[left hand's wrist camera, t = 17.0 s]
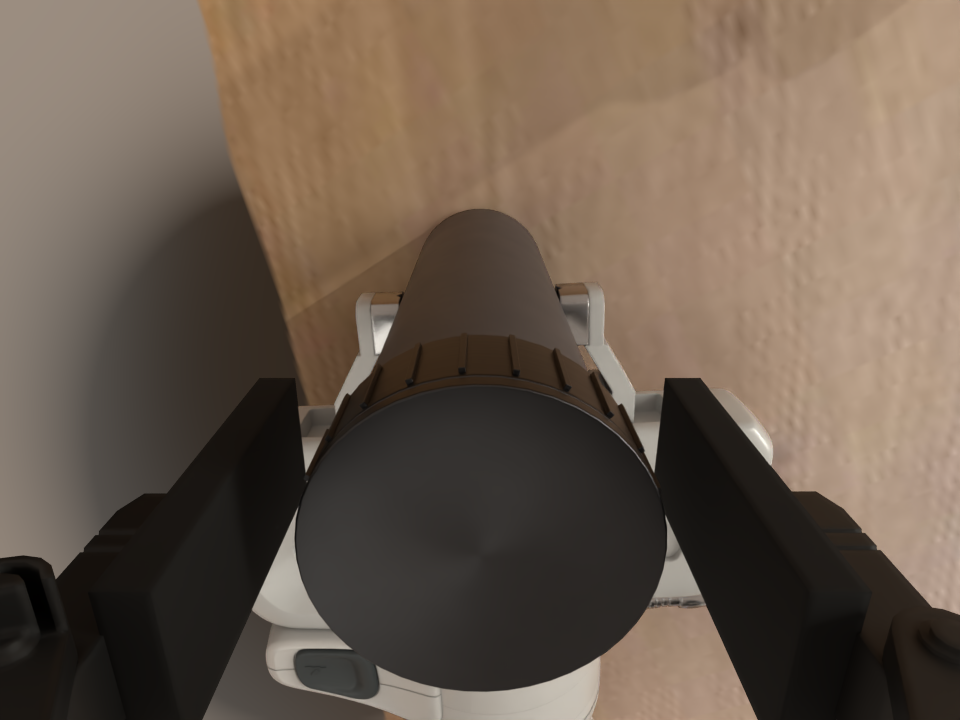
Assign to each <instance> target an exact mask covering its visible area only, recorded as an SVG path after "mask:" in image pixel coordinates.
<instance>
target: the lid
mask: <svg viewBox="0 0 960 720" xmlns="http://www.w3.org/2000/svg"><path fill="white" fill-rule="evenodd" d="M644 452H645V449H644V447H643V445H642V443H641V441H640V439H639V436H638V434H637V432H636V430H635V428H634V426H633V424H632V422H631V420H630V418H629V416H628V413H627V411H626V409H625V407H624V406H623V404H622V403H621V404H620V405H618V404H617V403H616V401H615V400H614V399H613V397H612V396H611V394H610V393H609V392H608V391H607V389H606V388H605V387H604V386H603V385H602V384H601V382H600V380H599V377H598V375H597V374H596V373H595V372H592V373H591V374H590V373H589V372H588V371H586V370H585V369H584V368H583V367H581V366H580V365H579V364H577V363H576V362H574V361H572V360H571V359H569V358H567V357H566V356H564V355H562V354H561V352H560V350H559V349H557V348H554V350H551V349H549V348H547V347H544V346H542V345H539V344H536V343H532V342H529V341H525V340H522V339H517V338H515V335H511V334H509V337H504V336H498V335H467V333H461V336H456V337H450V338H445V339H441V340H436V341H432V342H429V343H426V344H423V345H421V343H420V342H419V343H417V344H415V345H414V348H412V349H410V350H408V351H406V352H404V353H402V354H400V355H398V356H396V357H394V358H392V359H391V360H389V361H388V362H386V363H385V364H383V365H382V366H381V365H380V364H379V363H378V364H377V365H376V366H375V367H374V369H373V372H372V373H371V374H370V375H369V376H368V377H367V378H366V379H365V380H364V381H363V382H362V383H360V384H359V386H358V387H357V388H356V389H355V390H354V392H353V393H352V394H351V395H349V394H348V393H347V394H346V395H345V396H344V398H343V400H342V402H341V405H340V407H339V409H338V411H337V413H336V415H335V418H334V420H333V422H332V424H331V426H330V428H329V429H326V431H325V433H324V435H323V438H322V440H321V442H320V444H319V446H318V448H317V450H316V452H315V455H314V457H313V459H312V461H311V463H310V465H309V467H308V469H307V471H306V474H305V476H304V480H306V481H307V483H306V486H305V488H304V491H303V493H302V496H301V498H300V502H299V506H298V511H297V515H296V522H295V535H294V541H295V552H296V560H297V564H298V568H299V572H300V576H301V580H302V582H303V585H304V587H305V590H306V592H307V594H308V597H309V599H310V600H311V602H312V604H313V605H314V607H315V609H316V610H317V612H318V614H319V615H320V617H321V618H322V619H323V620H324V622H325V623H326V624H327V625H328V627H329V628H330V629H331V630H332V631H333V632H334V633H335V634H336V635H337V636H338V637H339V638H340V639H341V640H342V641H343V642H344V643H345V644H346V645H347V646H349V647H350V648H351V649H353V650H354V651H355V652H356V653H358V654H359V655H360V656H362V657H363V658H365V659H366V660H368V661H370V662H371V663H373V664H375V665H377V666H378V667H380V668H382V669H384V670H386V671H388V672H390V673H393V674H395V675H397V676H399V677H402V678H405V679H408V680H411V681H414V682H417V683H420V684H423V685H428V686H432V687H437V688H441V689H448V690H457V691H466V692H493V691H507V690H513V689H519V688H525V687H530V686H534V685H538V684H541V683H545V682H548V681H552V680H554V679H557V678H559V677H562V676H564V675H567V674H570V673H572V672H574V671H576V670H578V669H579V668H581V667H583V666H585V665H587V664H589V663H591V662H592V661H594V660H595V659H597V658H598V657H600V656H601V655H603V654H604V653H606V652H607V651H608V650H609V649H611V648H612V647H613V646H614V645H615V644H616V643H618V642H619V641H620V640H621V639H622V638H623V637H624V636H625V635H626V634H627V633H628V632H629V631H630V630H631V628H632V627H633V626H634V625H635V624H636V623H637V622H638V620H639V619H640V617H641V616H642V614H643V613H644V612H645V610H646V609H647V607H648V606H649V604H650V602H651V600H652V598H653V596H654V594H655V592H656V590H657V587H658V584H659V581H660V578H661V575H662V572H663V569H664V564H665V558H666V552H667V523H666V516H665V510H664V506H663V503H662V500H661V496H660V493H662V490H661V487H660V484H659V482H658V480H657V478H656V476H655V474H654V472H653V470H652V468H651V465H650V463H649V461H648V459H647V457H646V455H645V453H644Z"/></svg>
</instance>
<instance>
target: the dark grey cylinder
mask: <svg viewBox="0 0 960 720" xmlns="http://www.w3.org/2000/svg"><path fill="white" fill-rule="evenodd" d="M461 333H467V335H498V336H504V337H509V334H511V335H515V338H517V339H522V340H525V341H529V342H532V343H536V344H539V345H542V346H544V347H547V348H549V349H551V350H554V348H557V349H559V350H560V352H561V354H562V355H564V356H566V357H567V358H569V359H571V360H572V361H574V362H576V363H577V364H579V365H580V366H581V367H583V368H584V369H585V370H586V371H587V368H586V366H585V363H584V361H583V358H582V356H581V353H580V351H579V348H578V346H577V343H576V341H575V338H574V336H573V333H572V331H571V329H570V326H569V324H568V321H567V319H566V316H565V314H564V311H563V309H562V306H561V304H560V301H559V299H558V296H557V294H556V291H555V289H554V287H553V284H552V282H551V279H550V277H549V274H548V272H547V269H546V267H545V264H544V262H543V259H542V257H541V254H540V252H539V249H538V247H537V245H536V242H535V241H534V239H533V237H532V236H531V234H530V233H529V232H528V231H527V229H526V228H525V227H524V226H523V225H521V224H520V223H519V222H518V221H516V220H515V219H513V218H512V217H510V216H508V215H506V214H503V213H501V212H498V211H493V210H487V209H473V210H467V211H463V212H460V213H457V214H455V215H453V216H450V217H449V218H447V219H446V220H444V221H443V222H442V223H440V224H439V225H438V226H437V227H436V228H435V229H434V230H433V231H432V232H431V234H430V235H429V237H428V238H427V240H426V242H425V244H424V246H423V248H422V251H421V253H420V256H419V258H418V261H417V263H416V266H415V268H414V271H413V273H412V276H411V278H410V281H409V283H408V286H407V288H406V291H405V293H404V296H403V298H402V301H401V303H400V306H399V308H398V311H397V313H396V316H395V318H394V321H393V323H392V326H391V328H390V331H389V333H388V336H387V338H386V341H385V343H384V346H383V348H382V351H381V353H380V356H379V358H378V361H377V363H376V365H377V364H378V363H379V364H380V365H381V366H382V365H383V364H385V363H386V362H388V361H389V360H391V359H392V358H394V357H396V356H398V355H400V354H402V353H404V352H406V351H408V350H410V349H412V348H414V345H415V344H417V343H419V342H420V343H421V345H423V344H426V343H429V342H432V341H436V340H441V339H445V338H450V337H456V336H461Z"/></svg>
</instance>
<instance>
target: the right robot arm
mask: <svg viewBox="0 0 960 720" xmlns="http://www.w3.org/2000/svg"><path fill="white" fill-rule="evenodd" d="M555 291H556V294H557V296H558V299H559V301H560V304H561V306H562V309H563V311H564V314H565V316H566V319H567V321H568V324H569V326H570V329H571V331H572V333H573V336H574V338H575V341H576V343H577V345H584V346H585V348H586V350H587V351H588V353H589V354H590V356H591V358H592V359H593V361H594V363H595V364H596V366H597V367H598V369H599V370H589V371H588V372H589V373H590V374H591V373H592V372H595V373H596V374H597V375H598V377H599V380H600V382H601V384H602V385H603V386H604V387H605V388H606V389H607V391H608V392H609V393H610V394H611V396H612V397H613V399H614V400H615V401H616V403H617V404H618V405H620V404H621V403H622V404H623V406H624V407H625V409H626V411H627V413H628V416H629V418H630V420H631V422H632V424H633V426H634V428H635V430H636V432H637V434H638V436H639V439H640V441H641V443H642V445H643V447H644V449H645V452H644V453H645V455H646V457H647V459H648V461H649V463H650V465H651V468H652V470H653V472H654V470H655V462H656V453H657V444H658V436H659V427H660V418H661V409H662V401H663V392H664V390H654V391H635V390H634V388H633V386H632V384H631V382H630V380H629V378H628V377H627V375H626V373H625V371H624V369H623V367H622V366H621V364H620V362H619V361H618V359H617V357H616V356H615V354H614V352H613V351H612V349H611V347H610V346H609V344H608V342H607V341H606V339H605V337H604V306H605V302H604V294H603V290H602V288H601V287H600V285H599V284H598V282H585V283H566V284H556V285H555ZM403 296H404V292H378V293H375V292H371V293H361V295H360V297H359V298H358V300H357V301H356V323H357V331H358V340H359V348H360V350H359V352H358V354H357V357H356V359H355V361H354V363H353V365H352V367H351V369H350V371H349V374H348V376H347V378H346V380H345V382H344V384H343V386H342V388H341V391H340V393H339V395H338V397H337V399H336V401H335V403H334V405H316V406H298V409H299V418H300V427H301V436H302V444H303V453H304V462H305V470H306V471H307V469H308V467H309V465H310V463H311V461H312V459H313V457H314V455H315V452H316V450H317V448H318V446H319V444H320V442H321V440H322V438H323V435H324V433H325V431H326V429H329V428H330V426H331V424H332V422H333V420H334V418H335V415H336V413H337V411H338V409H339V407H340V405H341V402H342V400H343V398H344V396H345V395H346V394H347V393H348V394H349V395H351V394H352V393H353V392H354V390H355V389H356V388H357V387H358V386H359V384H360V383H362V382H363V381H364V380H365V379H366V378H367V377H368V376H369V375H370V374H371V372H372V370H373V368H374V366H375V363H376V361H377V359H378V357H379V355H380V353H381V351H382V348H383V346H384V343H385V341H386V338H387V336H388V333H389V331H390V328H391V326H392V323H393V321H394V318H395V316H396V313H397V311H398V308H399V306H400V303H401V301H402V298H403ZM709 390H710V391H711V392H712V393H713V395H714V396H715V397H716V398H717V400H718V401H719V402H720V403H721V405H722V406H723V407H724V408H725V410H726V411H727V412H728V413H729V415H730V416H731V417H732V418H733V419H734V421H735V422H736V423H737V424H738V426H739V427H740V428H741V429H742V431H743V432H744V433H745V434H746V436H747V437H748V438H749V439H750V441H751V442H752V443H753V444H754V446H755V447H756V448H757V449H758V451H759V452H760V453H761V454H762V456H763V457H764V458H765V459H766V461H767V462H768V463H769V464H770V465H771V466H772V459H773V445H772V441H771V439H770V437H769V434H768V433H767V431H766V430H765V428H764V427H763V425H762V424H761V423H760V421H759V420H758V419H757V418H756V416H755V415H754V414H753V413H752V412H751V411H750V410H749V409H748V408H747V407H746V406H745V405H744V404H743V403H742V402H741V401H740V400H739V399H738V398H737V397H736V396H735V395H734V394H732V393H731V392H730V391H728V390H726V389H723V388H709ZM297 511H298V509H297ZM297 511H296V513H295V515H294V517H293V520H292V522H291V524H290V526H289V529H288V531H287V533H286V535H285V537H284V540H283V542H282V544H281V546H280V548H279V551H278V553H277V555H276V557H275V560H274V562H273V564H272V566H271V568H270V571H269V573H268V575H267V577H266V579H265V582H264V584H263V586H262V588H261V591H260V593H259V595H258V597H257V599H256V602H255V604H254V606H253V608H252V611H254V612H255V613H256V614H257V615H259V616H260V617H261V618H263V619H265V620H267V621H269V622H271V623H272V626H271V630H270V635H269V639H268V643H267V648H266V663H267V667H268V670H269V673H270V674H271V676H272V677H273V678H274V679H275V680H276V681H277V682H279V683H281V684H283V685H286V686H289V687H293V688H297V689H302V690H307V691H312V692H317V693H322V694H326V695H331V696H336V697H340V698H344V699H348V700H352V701H355V702H359V703H362V704H366V705H369V706H372V707H375V708H378V709H381V710H384V711H387V712H389V713H392V714H395V715H397V716H400V717H402V718H404V719H407V720H593V718H592V714H593V712H594V709H595V706H596V702H597V699H598V694H599V685H600V657H598V658H597V659H595V660H594V661H592V662H591V663H589V664H587V665H585V666H583V667H581V668H579V669H578V670H576V671H574V672H572V673H570V674H567V675H564V676H562V677H559V678H557V679H554V680H552V681H548V682H545V683H541V684H538V685H534V686H530V687H525V688H519V689H513V690H507V691H493V692H466V691H457V690H448V689H441V688H437V687H432V686H428V685H423V684H420V683H417V682H414V681H411V680H408V679H405V678H402V677H399V676H397V675H395V674H393V673H390V672H388V671H386V670H384V669H382V668H380V667H378V666H377V665H375V664H373V663H371V662H370V661H368V660H366V659H365V658H363V657H362V656H360V655H359V654H358V653H356V652H355V651H354V650H353V649H351V648H350V647H349V646H347V645H346V644H345V643H344V642H343V641H342V640H341V639H340V638H339V637H338V636H337V635H336V634H335V633H334V632H333V631H332V630H331V629H330V628H329V627H328V625H327V624H326V623H325V622H324V620H323V619H322V618H321V617H320V615H319V614H318V612H317V610H316V609H315V607H314V605H313V604H312V602H311V600H310V599H309V597H308V594H307V592H306V590H305V587H304V585H303V582H302V580H301V576H300V572H299V568H298V564H297V560H296V552H295V541H294V535H295V522H296V515H297ZM665 516H666V515H665ZM666 523H667V552H666V558H665V564H664V569H663V572H662V575H661V578H660V581H659V584H658V587H657V590H656V592H655V594H654V596H653V598H652V600H651V602H650V604H649V606H648V607H647V609H651V608H654V607H655V608H657V607H667V606H669V607H671V606H678V607H679V608H698V607H704V606H706V604H705V602H704V599H703V597H702V595H701V593H700V591H699V588H698V586H697V584H696V582H695V579H694V577H693V575H692V573H691V571H690V568H689V566H688V564H687V562H686V560H685V557H684V555H683V553H682V551H681V548H680V546H679V544H678V542H677V540H676V537H675V535H674V533H673V531H672V529H671V526H670V524H669V522H668V520H667V517H666Z"/></svg>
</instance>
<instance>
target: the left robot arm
mask: <svg viewBox="0 0 960 720" xmlns="http://www.w3.org/2000/svg"><path fill="white" fill-rule="evenodd" d="M305 474H306V470H305V462H304V453H303V444H302V436H301V427H300V418H299V409H298V401H297V392H296V383H295V378H259V380H258V381H257V382H256V383H255V385H254V386H253V387H252V388H251V390H250V391H249V392H248V393H247V395H246V396H245V397H244V398H243V400H242V401H241V402H240V403H239V405H238V406H237V407H236V408H235V410H234V411H233V412H232V413H231V415H230V416H229V417H228V418H227V419H226V421H225V422H224V423H223V424H222V426H221V427H220V428H219V429H218V431H217V432H216V433H215V434H214V436H213V437H212V438H211V439H210V441H209V442H208V443H207V444H206V446H205V447H204V448H203V449H202V451H201V452H200V453H199V454H198V456H197V457H196V458H195V459H194V461H193V462H192V463H191V464H190V466H189V467H188V468H187V469H186V470H185V472H184V473H183V474H182V475H181V477H180V478H179V479H178V480H177V482H176V483H175V484H174V485H173V487H172V488H171V489H170V490H169V492H168V493H167V494H143V495H142V496H140V497H138V498H137V499H135V500H134V501H132V502H130V503H129V504H127V505H126V506H124V507H123V508H121V509H120V510H118V511H117V512H116V513H115V514H114V515H113V516H112V517H111V518H110V520H109V521H108V522H107V523H106V524H105V525H104V526H103V527H102V528H101V530H100V531H99V535H95V536H94V537H93V539H92V540H91V541H90V542H89V543H88V544H87V545H86V546H85V548H84V552H81V553H79V554H78V555H77V556H76V558H75V559H74V560H73V561H72V562H71V563H70V564H69V565H68V567H67V568H66V569H65V570H64V571H63V572H62V573H61V574H60V576H59V577H58V578H57V579H55V576H54V573H53V569H52V566H51V565H50V564H49V563H48V562H46V561H45V560H43V559H42V558H38V557H31V556H15V557H7V558H0V720H202V719H203V717H204V715H205V712H206V710H207V708H208V706H209V703H210V701H211V699H212V697H213V695H214V692H215V690H216V688H217V686H218V684H219V681H220V679H221V677H222V675H223V672H224V670H225V668H226V666H227V664H228V661H229V659H230V657H231V655H232V653H233V650H234V648H235V646H236V644H237V641H238V639H239V637H240V635H241V633H242V630H243V628H244V626H245V624H246V621H247V619H248V617H249V615H250V613H251V610H252V608H253V606H254V604H255V602H256V599H257V597H258V595H259V593H260V591H261V588H262V586H263V584H264V582H265V579H266V577H267V575H268V573H269V571H270V568H271V566H272V564H273V562H274V560H275V557H276V555H277V553H278V551H279V548H280V546H281V544H282V542H283V540H284V537H285V535H286V533H287V531H288V529H289V526H290V524H291V522H292V520H293V517H294V515H295V513H296V511H297V509H298V506H299V502H300V498H301V496H302V493H303V491H304V488H305V486H306V483H307V481H306V480H304V476H305ZM654 474H655V476H656V478H657V480H658V482H659V484H660V487H661V490H662V493H660V496H661V500H662V503H663V506H664V510H665V515H666V517H667V520H668V522H669V524H670V526H671V529H672V531H673V533H674V535H675V537H676V540H677V542H678V544H679V546H680V548H681V551H682V553H683V555H684V557H685V560H686V562H687V564H688V566H689V568H690V571H691V573H692V575H693V577H694V579H695V582H696V584H697V586H698V588H699V591H700V593H701V595H702V597H703V599H704V602H705V604H706V606H707V608H708V610H709V613H710V615H711V617H712V619H713V622H714V624H715V626H716V628H717V630H718V633H719V635H720V637H721V639H722V641H723V644H724V646H725V648H726V650H727V653H728V655H729V657H730V659H731V661H732V664H733V666H734V668H735V670H736V672H737V675H738V677H739V679H740V681H741V684H742V686H743V688H744V690H745V692H746V695H747V697H748V699H749V701H750V703H751V706H752V708H753V710H754V712H755V715H756V717H757V719H758V720H960V615H958V614H955V613H952V612H949V611H946V610H943V609H938V608H932V607H931V606H930V605H929V604H928V603H927V601H926V600H925V599H924V598H923V597H922V596H921V595H920V594H919V592H918V591H917V590H916V589H915V588H914V587H913V586H912V585H911V584H910V582H909V581H908V580H907V579H906V578H905V577H904V576H903V575H902V574H901V572H900V571H899V570H898V569H897V568H896V567H895V566H894V565H893V564H892V562H891V561H890V560H889V559H888V558H887V557H886V556H885V555H884V554H883V552H882V551H881V550H877V546H876V545H875V544H874V542H873V541H872V540H871V539H870V538H869V537H868V536H867V535H866V533H862V531H861V528H860V527H859V526H858V525H857V523H856V522H855V521H854V520H853V519H852V518H851V517H850V516H849V515H848V513H847V512H846V511H845V510H844V509H843V508H841V507H840V506H838V505H836V504H835V503H833V502H832V501H830V500H829V499H827V498H825V497H824V496H822V495H821V494H819V493H817V492H791V490H790V489H789V488H788V487H787V485H786V484H785V483H784V482H783V480H782V479H781V478H780V477H779V475H778V474H777V473H776V472H775V470H774V469H773V468H772V467H771V465H770V464H769V463H768V462H767V461H766V459H765V458H764V457H763V456H762V454H761V453H760V452H759V451H758V449H757V448H756V447H755V446H754V444H753V443H752V442H751V441H750V439H749V438H748V437H747V436H746V434H745V433H744V432H743V431H742V429H741V428H740V427H739V426H738V424H737V423H736V422H735V421H734V419H733V418H732V417H731V416H730V415H729V413H728V412H727V411H726V410H725V408H724V407H723V406H722V405H721V403H720V402H719V401H718V400H717V398H716V397H715V396H714V395H713V393H712V392H711V391H710V390H709V388H708V387H707V386H706V385H705V383H704V382H703V381H702V380H701V378H665V383H664V392H663V401H662V409H661V418H660V427H659V436H658V444H657V453H656V462H655V470H654Z"/></svg>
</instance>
